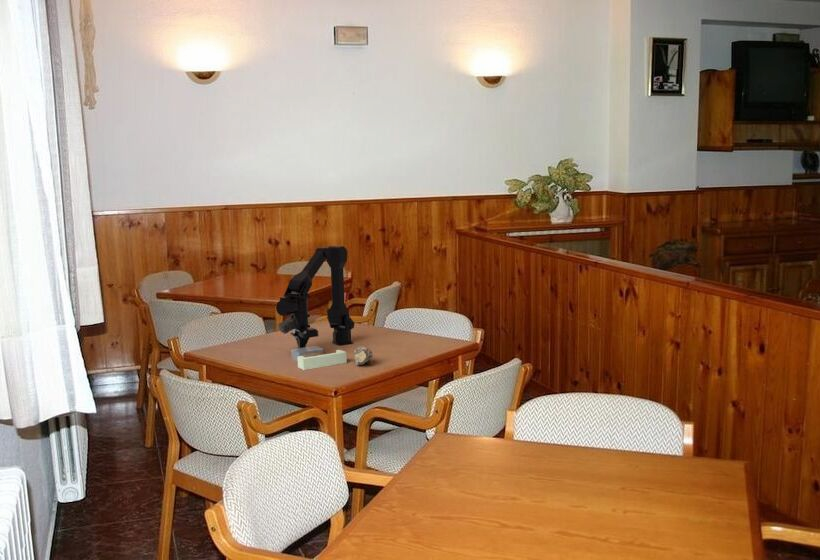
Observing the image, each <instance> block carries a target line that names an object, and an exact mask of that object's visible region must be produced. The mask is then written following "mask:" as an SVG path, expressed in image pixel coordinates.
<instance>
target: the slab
mask: <svg viewBox="0 0 820 560" xmlns="http://www.w3.org/2000/svg"><path fill="white" fill-rule="evenodd" d="M290 350H291V352H290V353H291V354H290V355H291V360H293V361H296V362H298V359H297V356H303V355H304V354H311V353H317V352H325V350H324V348H323V347H319V346H318V345H312V346H311V345H310V346H305V347H303V348H299V347H297V348H296V347H295V348H292V349H290Z"/></svg>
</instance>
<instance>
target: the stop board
mask: <svg viewBox="0 0 820 560" xmlns="http://www.w3.org/2000/svg"><path fill="white" fill-rule="evenodd" d="M297 359H298V361H297V368H299V369H301V370H302V371H306V370H312V369H317V368H318V369H319V368H325V367H330V366H337V365H341V364H347V362H348V361H347V360H348V359H347V351H344V350H342V349H337V350H335V352H332V353H326V354H325V355H318V356H312V357H306V358H305V357H303V356H297Z"/></svg>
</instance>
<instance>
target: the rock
mask: <svg viewBox="0 0 820 560" xmlns="http://www.w3.org/2000/svg"><path fill="white" fill-rule="evenodd" d="M353 357H354V363H355V366H356V367H358V366H362V365H364V364H368V365H369V364H371V363H372V362H373V360H372V358H373V351H372V350H371V348H369V347H367V346H366V345H358V347H357V348H356V349H355V350H353Z"/></svg>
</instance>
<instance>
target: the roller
mask: <svg viewBox="0 0 820 560" xmlns="http://www.w3.org/2000/svg"><path fill="white" fill-rule="evenodd" d="M325 354H327V353H326V352H325V351H324V352H317V353H311V354H304V355H303V357H305V358H306V357H312V356H318V355H325Z"/></svg>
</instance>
